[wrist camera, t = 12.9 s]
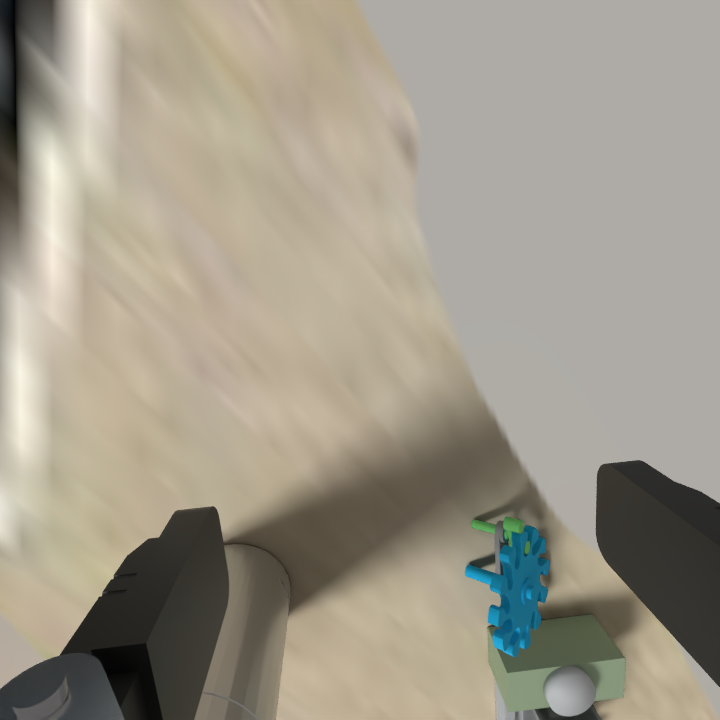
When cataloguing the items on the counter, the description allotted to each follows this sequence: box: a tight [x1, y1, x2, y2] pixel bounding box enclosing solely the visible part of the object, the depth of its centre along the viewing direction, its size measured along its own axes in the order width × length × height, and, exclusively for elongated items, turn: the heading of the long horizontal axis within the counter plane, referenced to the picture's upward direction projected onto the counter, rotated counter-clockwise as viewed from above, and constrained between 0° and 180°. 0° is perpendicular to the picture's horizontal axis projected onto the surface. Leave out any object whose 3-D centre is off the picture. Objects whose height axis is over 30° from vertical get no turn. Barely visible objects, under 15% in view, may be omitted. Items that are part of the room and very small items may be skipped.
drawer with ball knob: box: [488, 614, 625, 720], centre depth 43 cm, size 10×13×6 cm
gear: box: [465, 517, 549, 658], centre depth 40 cm, size 11×6×10 cm
